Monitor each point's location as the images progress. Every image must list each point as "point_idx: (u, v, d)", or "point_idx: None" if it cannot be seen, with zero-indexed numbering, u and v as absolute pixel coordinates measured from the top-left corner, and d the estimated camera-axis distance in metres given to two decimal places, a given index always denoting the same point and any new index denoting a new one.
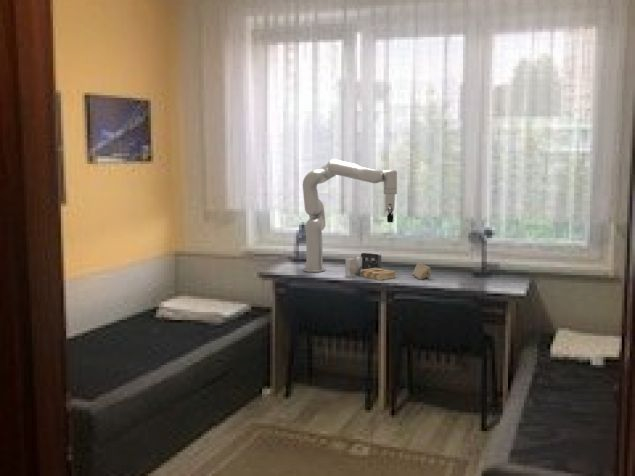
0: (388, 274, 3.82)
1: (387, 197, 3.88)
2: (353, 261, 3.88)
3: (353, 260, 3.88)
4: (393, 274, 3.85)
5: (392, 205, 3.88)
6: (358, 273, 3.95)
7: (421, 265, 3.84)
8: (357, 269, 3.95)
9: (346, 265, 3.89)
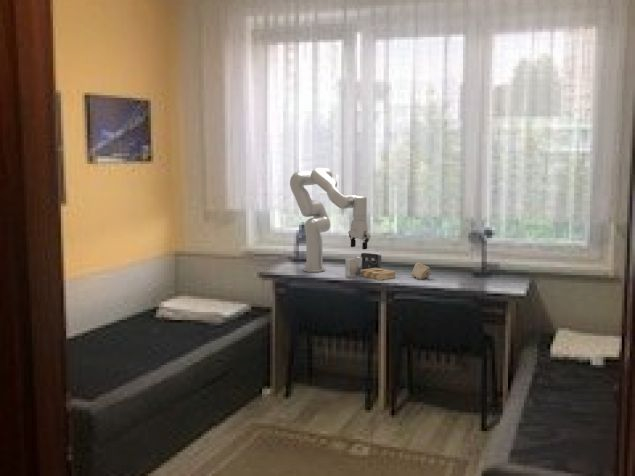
0: (388, 274, 3.82)
1: (363, 224, 3.82)
2: (353, 261, 3.88)
3: (353, 260, 3.88)
4: (393, 274, 3.85)
5: None
6: (358, 273, 3.95)
7: (420, 265, 3.84)
8: (357, 269, 3.95)
9: (346, 265, 3.89)
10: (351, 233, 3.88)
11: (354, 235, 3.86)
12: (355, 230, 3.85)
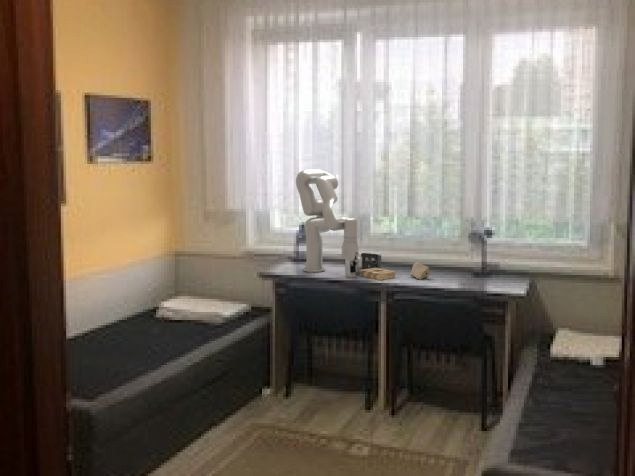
0: (388, 274, 3.82)
1: (353, 246, 3.84)
2: (353, 261, 3.88)
3: None
4: (393, 274, 3.85)
5: (358, 253, 3.86)
6: (358, 273, 3.95)
7: (419, 265, 3.84)
8: (357, 269, 3.95)
9: (346, 265, 3.89)
10: (342, 255, 3.90)
11: (345, 257, 3.88)
12: (346, 252, 3.87)
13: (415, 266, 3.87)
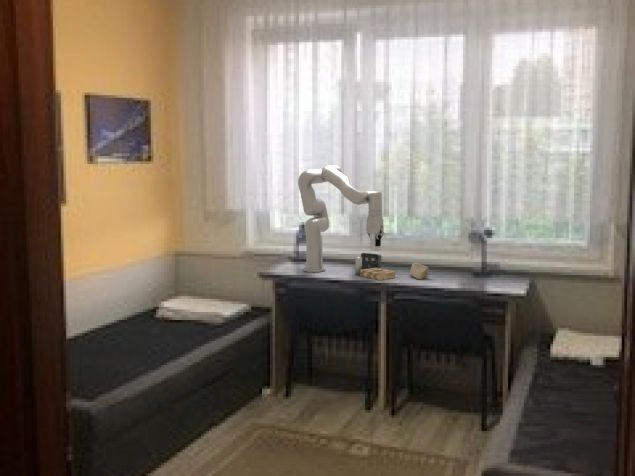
0: (388, 274, 3.82)
1: (378, 219, 3.80)
2: (378, 235, 3.84)
3: None
4: (393, 274, 3.85)
5: (383, 227, 3.82)
6: (358, 273, 3.95)
7: (418, 265, 3.84)
8: (357, 269, 3.95)
9: (371, 239, 3.85)
10: (367, 229, 3.86)
11: (370, 231, 3.84)
12: (371, 226, 3.83)
13: (414, 266, 3.87)
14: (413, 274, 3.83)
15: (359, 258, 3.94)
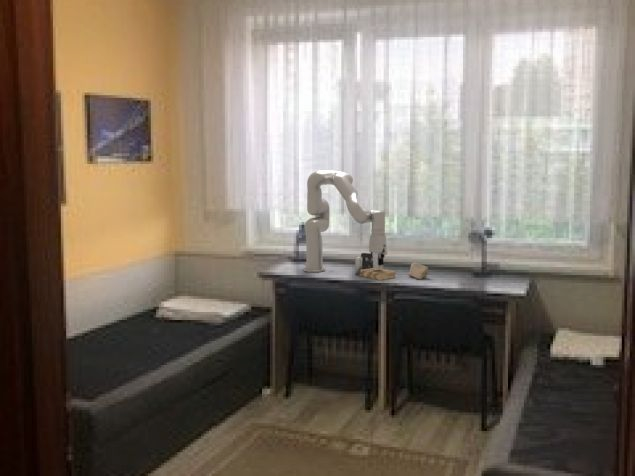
0: (388, 274, 3.82)
1: (381, 238, 3.81)
2: (381, 254, 3.86)
3: None
4: (393, 274, 3.85)
5: (385, 246, 3.83)
6: (358, 273, 3.95)
7: (418, 265, 3.84)
8: (357, 269, 3.95)
9: (374, 258, 3.87)
10: (370, 248, 3.88)
11: (373, 249, 3.85)
12: (374, 245, 3.85)
13: (413, 266, 3.87)
14: (413, 274, 3.83)
15: (359, 258, 3.94)
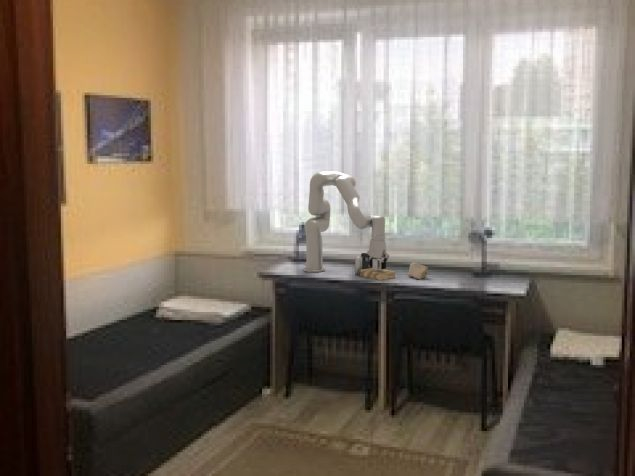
0: (388, 274, 3.82)
1: (381, 244, 3.82)
2: (380, 261, 3.86)
3: (380, 260, 3.86)
4: (393, 274, 3.85)
5: (385, 251, 3.84)
6: (358, 273, 3.95)
7: (417, 265, 3.84)
8: (357, 269, 3.95)
9: (373, 265, 3.88)
10: (370, 253, 3.88)
11: (373, 255, 3.86)
12: (374, 250, 3.85)
13: (412, 266, 3.87)
14: (412, 274, 3.83)
15: (359, 258, 3.94)
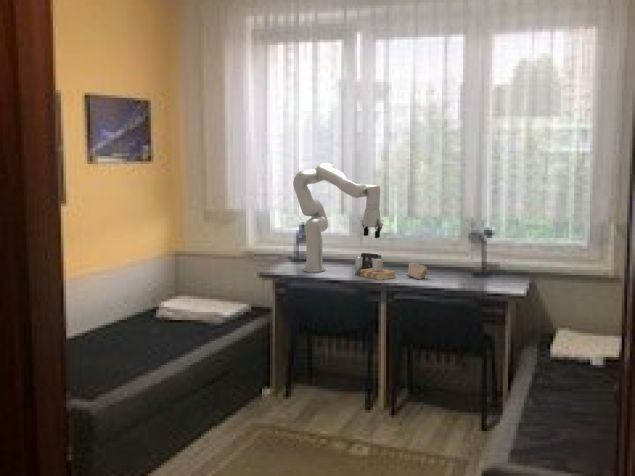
0: (388, 274, 3.82)
1: (376, 213, 3.84)
2: (380, 261, 3.86)
3: (380, 260, 3.86)
4: (393, 274, 3.85)
5: (379, 220, 3.86)
6: (358, 273, 3.95)
7: (417, 265, 3.84)
8: (357, 269, 3.95)
9: (373, 265, 3.88)
10: (364, 222, 3.90)
11: (367, 224, 3.88)
12: (368, 219, 3.87)
13: (412, 266, 3.87)
14: (412, 274, 3.83)
15: (359, 258, 3.94)
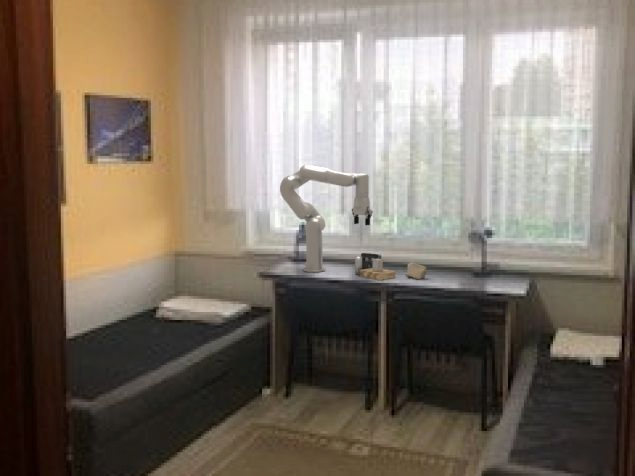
0: (388, 274, 3.82)
1: (365, 200, 3.92)
2: (380, 261, 3.86)
3: (380, 260, 3.86)
4: (393, 274, 3.85)
5: None
6: (358, 273, 3.95)
7: (416, 265, 3.84)
8: (357, 269, 3.95)
9: (373, 265, 3.88)
10: (354, 210, 3.99)
11: (357, 212, 3.97)
12: (358, 207, 3.96)
13: (411, 266, 3.86)
14: (411, 274, 3.83)
15: (359, 258, 3.94)
